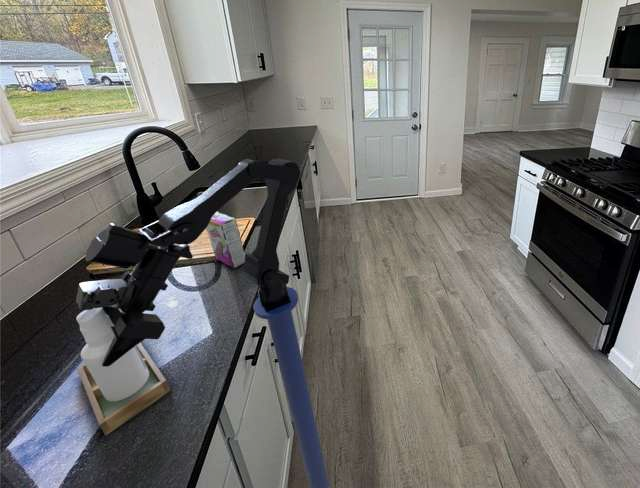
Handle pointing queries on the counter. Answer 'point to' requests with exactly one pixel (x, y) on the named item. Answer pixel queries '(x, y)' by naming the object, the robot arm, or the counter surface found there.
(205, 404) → the counter surface
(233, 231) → the candy bar box
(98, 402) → the holder
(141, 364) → the spray bottle
